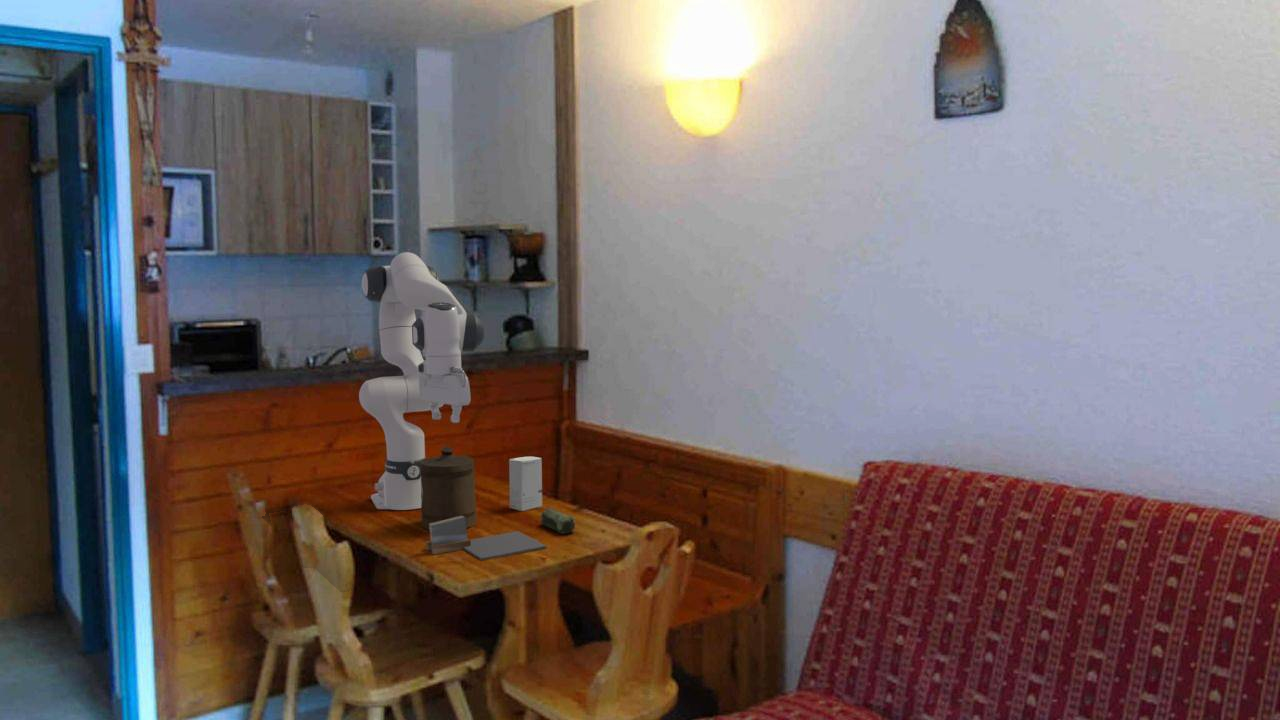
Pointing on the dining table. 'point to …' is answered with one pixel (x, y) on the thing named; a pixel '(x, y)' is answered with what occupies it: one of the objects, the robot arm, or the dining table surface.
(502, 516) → the dining table surface
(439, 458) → the wooden container
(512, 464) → the skincare box
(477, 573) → the dining table surface
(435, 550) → the holder
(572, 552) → the dining table surface
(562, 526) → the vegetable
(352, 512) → the dining table surface
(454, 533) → the tile
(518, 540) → the mat
